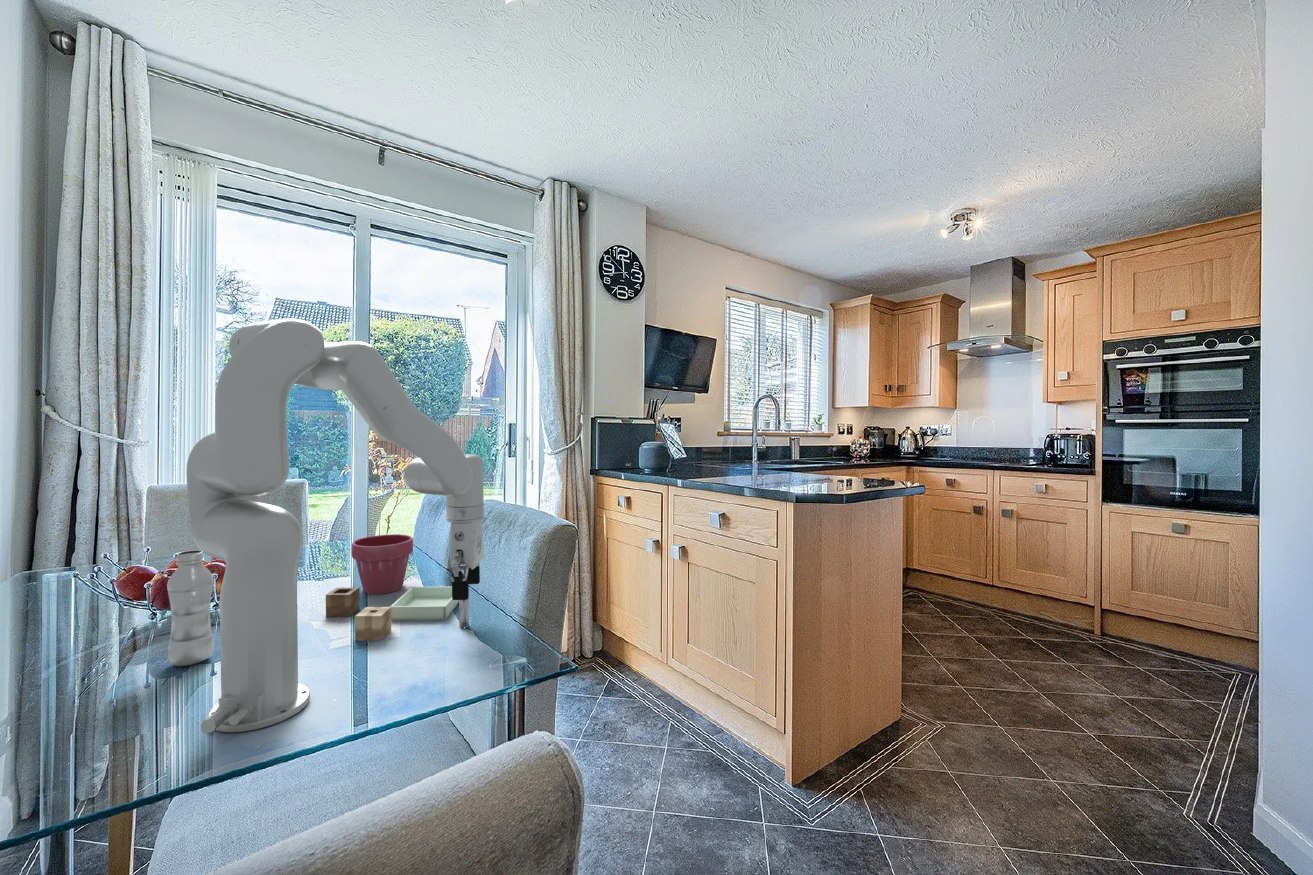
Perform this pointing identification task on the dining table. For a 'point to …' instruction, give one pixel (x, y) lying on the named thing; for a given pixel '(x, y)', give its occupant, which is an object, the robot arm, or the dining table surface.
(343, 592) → the walnut block
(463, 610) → the pin
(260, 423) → the robot arm
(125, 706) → the dining table surface
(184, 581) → the plastic bottle
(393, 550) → the plant pot
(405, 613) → the tray
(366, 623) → the oak block
